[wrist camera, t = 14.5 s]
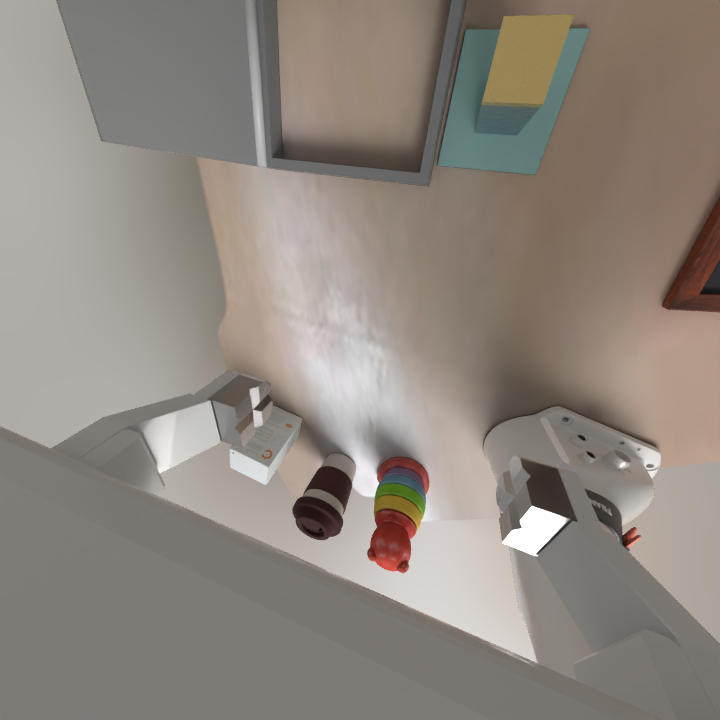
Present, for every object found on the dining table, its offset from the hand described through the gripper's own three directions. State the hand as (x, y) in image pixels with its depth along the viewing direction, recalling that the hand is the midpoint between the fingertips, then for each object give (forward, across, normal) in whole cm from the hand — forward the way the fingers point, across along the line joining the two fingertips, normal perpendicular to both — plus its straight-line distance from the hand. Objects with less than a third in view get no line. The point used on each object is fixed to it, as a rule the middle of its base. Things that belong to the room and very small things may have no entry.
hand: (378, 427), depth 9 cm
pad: (+31, -2, -15) cm, 35 cm away
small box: (+31, +24, +38) cm, 55 cm away
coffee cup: (+31, +10, +46) cm, 57 cm away
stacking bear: (+31, -4, +42) cm, 53 cm away
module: (+31, -2, -15) cm, 34 cm away
